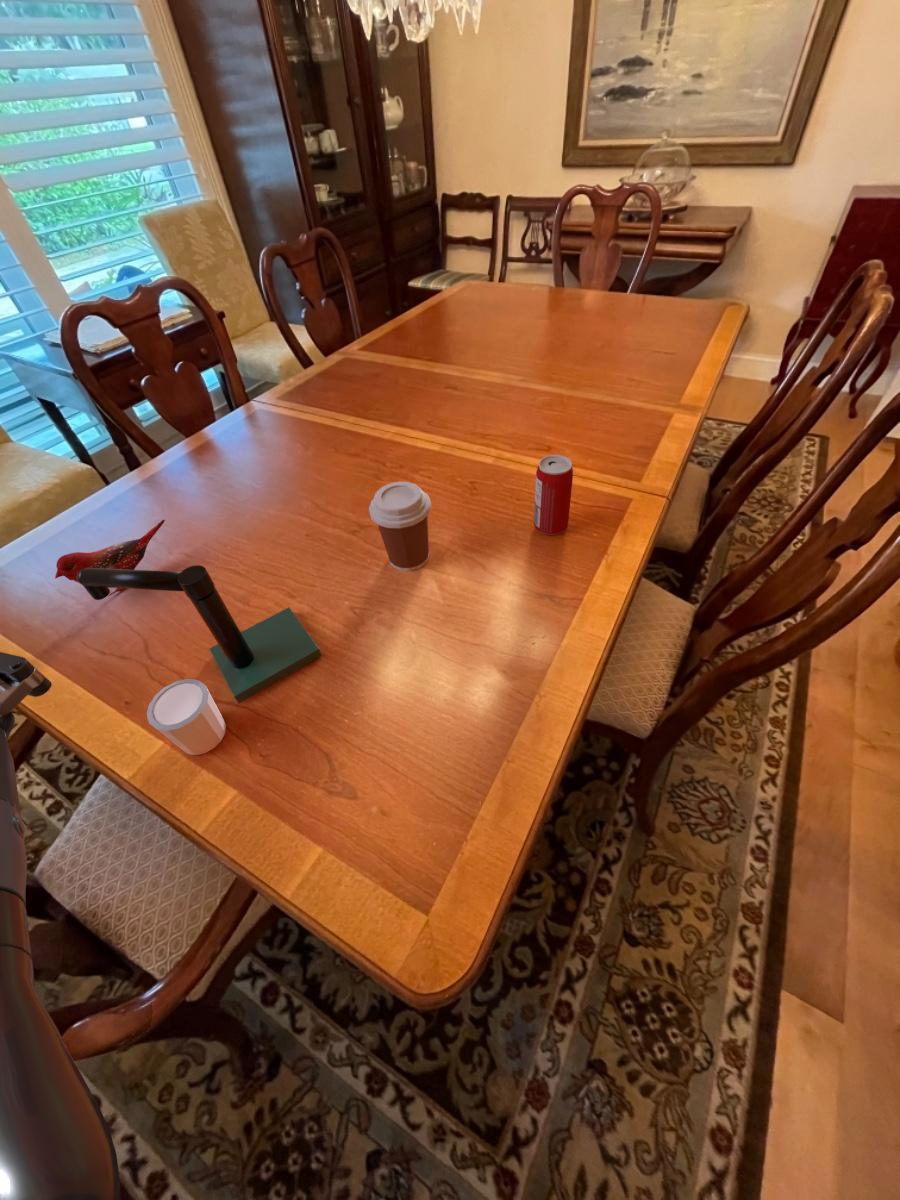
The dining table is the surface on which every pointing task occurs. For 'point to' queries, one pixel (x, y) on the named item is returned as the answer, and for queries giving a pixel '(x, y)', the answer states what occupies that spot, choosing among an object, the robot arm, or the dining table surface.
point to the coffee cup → (403, 523)
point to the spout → (147, 581)
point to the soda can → (553, 494)
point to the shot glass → (187, 716)
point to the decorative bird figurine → (106, 557)
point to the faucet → (255, 647)
